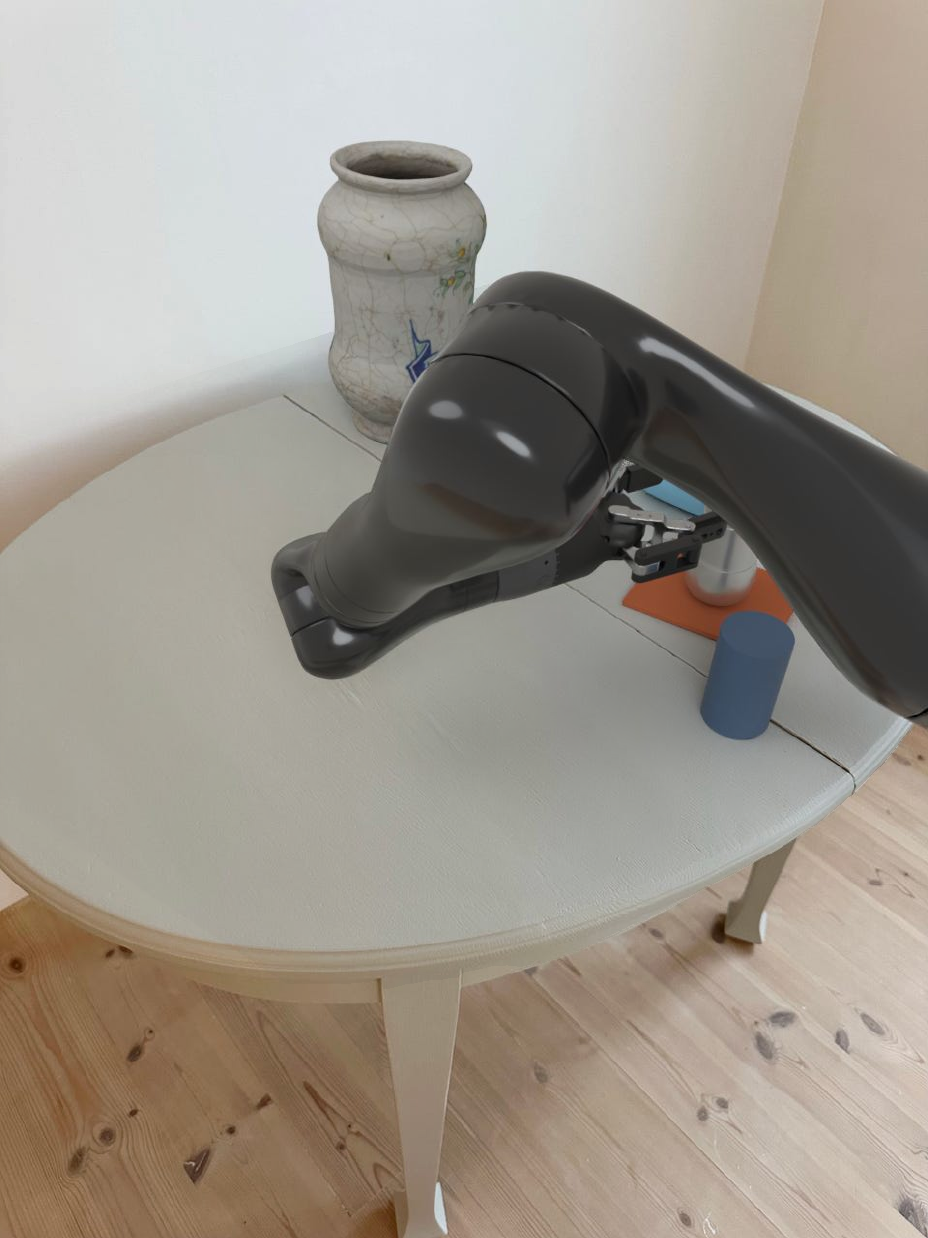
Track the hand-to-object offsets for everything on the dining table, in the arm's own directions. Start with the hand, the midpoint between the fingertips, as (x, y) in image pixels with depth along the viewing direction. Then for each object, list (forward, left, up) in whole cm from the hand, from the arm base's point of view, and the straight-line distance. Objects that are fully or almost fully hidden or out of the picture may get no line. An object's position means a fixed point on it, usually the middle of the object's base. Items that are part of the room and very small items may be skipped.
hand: (692, 494), depth 81 cm
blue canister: (-10, +9, -13) cm, 19 cm away
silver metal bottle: (-3, -5, -13) cm, 14 cm away
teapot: (+7, -22, -13) cm, 27 cm away
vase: (+41, -17, -13) cm, 47 cm away
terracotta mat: (-3, -5, -13) cm, 14 cm away
